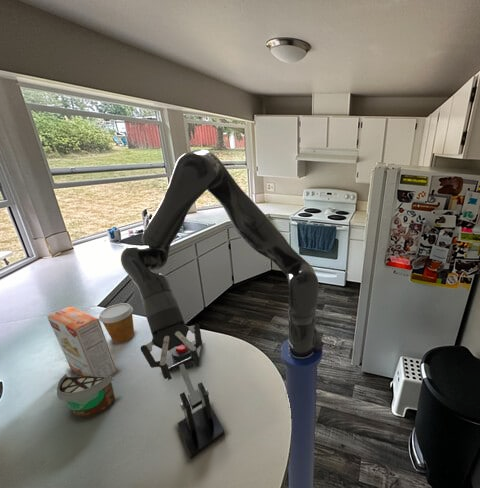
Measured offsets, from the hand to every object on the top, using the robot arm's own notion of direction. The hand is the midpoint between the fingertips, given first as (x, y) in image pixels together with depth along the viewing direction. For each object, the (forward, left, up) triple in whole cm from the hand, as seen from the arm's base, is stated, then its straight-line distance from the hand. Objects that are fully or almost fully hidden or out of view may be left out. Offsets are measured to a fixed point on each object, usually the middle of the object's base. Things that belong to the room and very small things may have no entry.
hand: (183, 372), depth 64 cm
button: (+5, -20, -10) cm, 23 cm away
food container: (+26, -7, -14) cm, 30 cm away
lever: (-1, +3, -2) cm, 3 cm away
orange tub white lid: (+28, -37, -14) cm, 48 cm away
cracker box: (+31, -22, -14) cm, 40 cm away
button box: (+5, -20, -13) cm, 25 cm away
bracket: (-3, +7, -13) cm, 15 cm away
